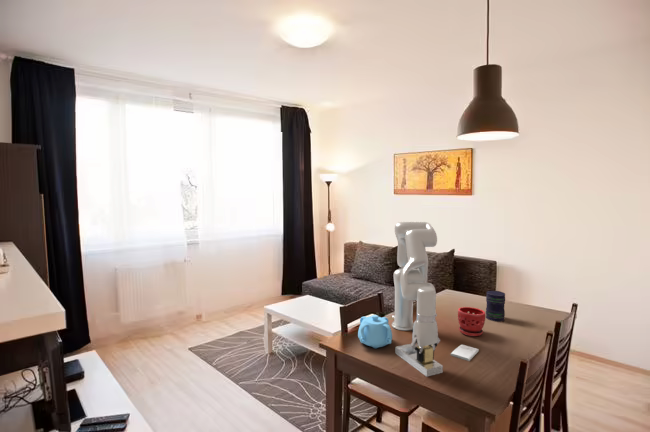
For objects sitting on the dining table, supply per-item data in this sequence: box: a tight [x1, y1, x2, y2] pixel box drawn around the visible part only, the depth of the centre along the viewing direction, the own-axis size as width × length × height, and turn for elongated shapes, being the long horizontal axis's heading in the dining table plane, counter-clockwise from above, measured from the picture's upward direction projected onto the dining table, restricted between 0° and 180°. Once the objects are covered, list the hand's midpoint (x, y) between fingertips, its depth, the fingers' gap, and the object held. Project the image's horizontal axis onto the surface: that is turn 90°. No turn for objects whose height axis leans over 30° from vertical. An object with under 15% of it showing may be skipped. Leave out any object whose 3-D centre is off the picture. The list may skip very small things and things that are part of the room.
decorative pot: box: [357, 314, 393, 349], centre depth 173 cm, size 16×16×14 cm
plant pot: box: [457, 306, 486, 337], centre depth 184 cm, size 13×13×12 cm
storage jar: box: [485, 290, 506, 323], centre depth 204 cm, size 10×10×15 cm
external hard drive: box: [450, 344, 479, 362], centre depth 162 cm, size 2×8×12 cm
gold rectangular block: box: [419, 345, 433, 365], centre depth 149 cm, size 4×4×9 cm
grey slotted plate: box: [394, 343, 444, 377], centre depth 154 cm, size 22×8×3 cm, turn 23°
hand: (425, 359), depth 149 cm, fingers open, 4 cm apart
